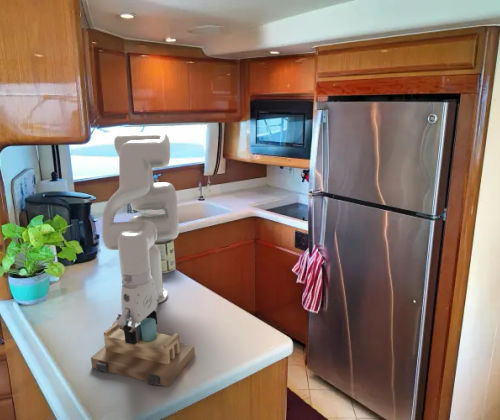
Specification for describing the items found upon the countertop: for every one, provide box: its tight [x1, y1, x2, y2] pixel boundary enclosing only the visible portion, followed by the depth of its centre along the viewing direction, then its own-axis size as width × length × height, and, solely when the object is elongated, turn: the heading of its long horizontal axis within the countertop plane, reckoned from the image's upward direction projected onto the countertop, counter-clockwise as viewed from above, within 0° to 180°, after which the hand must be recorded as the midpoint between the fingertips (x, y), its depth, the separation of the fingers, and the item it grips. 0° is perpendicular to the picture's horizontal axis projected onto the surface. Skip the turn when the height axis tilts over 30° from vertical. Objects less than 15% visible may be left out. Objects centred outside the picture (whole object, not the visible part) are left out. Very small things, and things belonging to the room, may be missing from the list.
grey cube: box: [128, 317, 142, 340], centre depth 112 cm, size 4×4×4 cm
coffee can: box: [154, 239, 176, 274], centre depth 174 cm, size 10×10×14 cm
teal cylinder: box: [140, 318, 158, 342], centre depth 110 cm, size 4×4×5 cm
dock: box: [90, 342, 196, 388], centre depth 113 cm, size 24×15×3 cm, turn 70°
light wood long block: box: [103, 323, 180, 364], centre depth 112 cm, size 20×6×6 cm, turn 70°
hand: (142, 333), depth 112 cm, fingers open, 9 cm apart
